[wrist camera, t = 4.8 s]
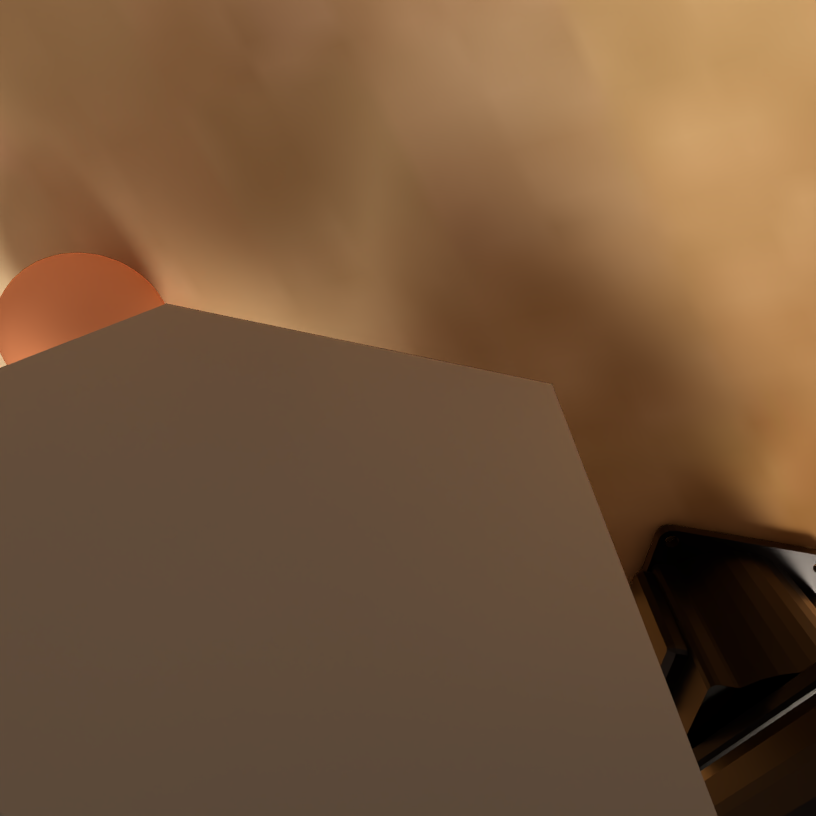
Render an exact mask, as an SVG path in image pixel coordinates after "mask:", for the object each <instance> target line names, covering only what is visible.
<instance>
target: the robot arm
mask: <svg viewBox="0 0 816 816" xmlns="http://www.w3.org/2000/svg"><path fill="white" fill-rule="evenodd" d="M670 536H675V538H674V539H673V540H671V541H665V540H666V538H668V537H670ZM815 564H816V549H811V548H805V547H799V546H794V545H788V544H782V543H776V542H770V541H765V540H759V539H753V538H747V537H741V536H736V535H730V534H724V533H718V532H712V531H707V530H701V529H695V528H689V527H683V526H678V525H664V526H662V527H660V528H659V529H658V530H657V532H656V533H655V536H654V538H653V541H652V544H651V547H650V549H649V552H648V555H647V557H646V560H645V563H644V566H643V568H642V570H640V571H639V572H638V573H637V574H635V576H634V579H633V582H632V585H631V587H630V589H631V591H632V594H633V596H634V599H635V602H636V604H637V607H638V609H639V612H640V615H641V617H642V620H643V623H644V625H645V628H646V630H647V633H648V636H649V638H650V641H651V643H652V646H653V649H654V651H655V654H656V656H657V659H658V662H659V664H660V667H661V670H662V672H663V675H664V677H665V680H666V683H667V685H668V688H669V690H670V693H671V696H672V698H673V701H674V703H675V706H676V709H677V711H678V714H679V716H680V719H681V722H682V724H683V727H684V730H685V732H686V735H687V737H688V740H689V743H690V745H691V748H692V750H693V753H694V756H695V758H696V761H697V763H698V766H699V769H700V771H701V774H702V776H703V779H704V782H705V784H706V787H707V790H708V792H709V795H710V797H711V800H712V803H713V805H714V808H715V810H716V813H717V816H816V566H814V565H815Z"/></svg>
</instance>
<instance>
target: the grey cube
mask: <svg viewBox="0 0 816 816" xmlns="http://www.w3.org/2000/svg"><path fill="white" fill-rule="evenodd" d="M0 816H717V813H716V810H715V808H714V805H713V803H712V800H711V797H710V795H709V792H708V790H707V787H706V784H705V782H704V779H703V776H702V774H701V771H700V769H699V766H698V763H697V761H696V758H695V756H694V753H693V750H692V748H691V745H690V743H689V740H688V737H687V735H686V732H685V730H684V727H683V724H682V722H681V719H680V716H679V714H678V711H677V709H676V706H675V703H674V701H673V698H672V696H671V693H670V690H669V688H668V685H667V683H666V680H665V677H664V675H663V672H662V670H661V667H660V664H659V662H658V659H657V656H656V654H655V651H654V649H653V646H652V643H651V641H650V638H649V636H648V633H647V630H646V628H645V625H644V623H643V620H642V617H641V615H640V612H639V609H638V607H637V604H636V602H635V599H634V596H633V594H632V591H631V589H630V586H629V583H628V581H627V578H626V576H625V573H624V570H623V568H622V565H621V563H620V560H619V557H618V555H617V552H616V549H615V547H614V544H613V542H612V539H611V536H610V534H609V531H608V529H607V526H606V523H605V521H604V518H603V516H602V513H601V510H600V508H599V505H598V503H597V500H596V497H595V495H594V492H593V489H592V487H591V484H590V482H589V479H588V476H587V474H586V471H585V469H584V466H583V463H582V461H581V458H580V456H579V453H578V450H577V448H576V445H575V443H574V440H573V437H572V435H571V432H570V429H569V427H568V424H567V422H566V419H565V416H564V414H563V411H562V409H561V406H560V403H559V401H558V398H557V396H556V393H555V390H554V388H553V385H552V384H550V383H545V382H540V381H536V380H531V379H526V378H521V377H516V376H512V375H507V374H502V373H497V372H492V371H488V370H483V369H478V368H473V367H468V366H464V365H459V364H454V363H449V362H444V361H440V360H435V359H430V358H425V357H420V356H416V355H411V354H406V353H401V352H396V351H392V350H387V349H382V348H377V347H372V346H368V345H363V344H358V343H353V342H348V341H344V340H339V339H334V338H329V337H324V336H320V335H315V334H310V333H305V332H300V331H296V330H291V329H286V328H281V327H276V326H272V325H267V324H262V323H257V322H252V321H248V320H243V319H238V318H233V317H228V316H223V315H219V314H214V313H209V312H204V311H199V310H195V309H190V308H185V307H180V306H175V305H171V304H164V305H161V306H159V307H156V308H154V309H151V310H149V311H146V312H143V313H141V314H138V315H136V316H133V317H130V318H128V319H125V320H123V321H120V322H117V323H115V324H112V325H110V326H107V327H105V328H102V329H99V330H97V331H94V332H92V333H89V334H86V335H84V336H81V337H79V338H76V339H74V340H71V341H68V342H66V343H63V344H61V345H58V346H55V347H53V348H50V349H48V350H45V351H43V352H40V353H37V354H35V355H32V356H30V357H27V358H24V359H22V360H19V361H17V362H14V363H11V364H9V365H6V366H4V367H1V368H0Z"/></svg>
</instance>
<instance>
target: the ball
mask: <svg viewBox="0 0 816 816" xmlns="http://www.w3.org/2000/svg"><path fill="white" fill-rule="evenodd" d="M161 305H164V302H163V300H162V299H161V297H160V295H159V294H158V292H157V291H156V290H155V288H154V287H153V286H152V285H151V284H150V283H149V282H148V281H147V280H146V279H145V278H144V277H143V276H142V275H140V274H139V273H138V272H136V271H135V270H133V269H132V268H130V267H129V266H127V265H125V264H123V263H121V262H119V261H116V260H114V259H111V258H108V257H105V256H101V255H97V254H90V253H64V254H58V255H54V256H50V257H47V258H44V259H41V260H39V261H37V262H35V263H33V264H31V265H30V266H28V267H26V268H25V269H23V270H22V271H21V272H20V273H19V274H18V275H17V276H15V277H14V278H13V279H12V280H11V282H10V283H9V284H8V286H7V287H6V289H5V290H4V292H3V294H2V295H1V297H0V353H1V355H2V357H3V359H4V361H5V363H6V364H7V365H9V364H11V363H14V362H17V361H19V360H22V359H24V358H27V357H30V356H32V355H35V354H37V353H40V352H43V351H45V350H48V349H50V348H53V347H55V346H58V345H61V344H63V343H66V342H68V341H71V340H74V339H76V338H79V337H81V336H84V335H86V334H89V333H92V332H94V331H97V330H99V329H102V328H105V327H107V326H110V325H112V324H115V323H117V322H120V321H123V320H125V319H128V318H130V317H133V316H136V315H138V314H141V313H143V312H146V311H149V310H151V309H154V308H156V307H159V306H161Z"/></svg>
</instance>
